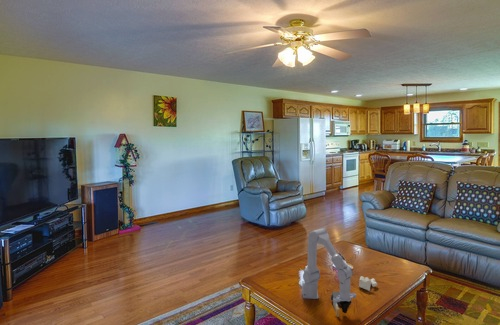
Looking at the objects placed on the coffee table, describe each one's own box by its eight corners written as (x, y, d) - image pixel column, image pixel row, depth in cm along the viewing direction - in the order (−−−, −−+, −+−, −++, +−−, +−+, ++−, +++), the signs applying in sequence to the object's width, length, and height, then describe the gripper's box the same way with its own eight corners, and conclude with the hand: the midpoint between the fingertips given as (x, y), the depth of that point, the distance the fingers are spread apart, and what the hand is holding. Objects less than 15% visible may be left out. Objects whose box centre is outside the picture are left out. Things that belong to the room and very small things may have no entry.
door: (331, 304, 176) (332, 297, 176) (334, 305, 176) (334, 297, 176) (336, 317, 165) (336, 308, 164) (339, 317, 164) (339, 309, 164)
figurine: (369, 281, 188) (381, 278, 197) (356, 275, 195) (367, 273, 205) (368, 292, 188) (379, 289, 197) (354, 287, 195) (366, 283, 204)
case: (331, 304, 177) (331, 295, 176) (330, 299, 183) (330, 290, 182) (347, 305, 176) (347, 296, 175) (345, 299, 182) (345, 291, 181)
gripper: (339, 295, 158) (338, 319, 160) (360, 289, 164) (359, 312, 165) (330, 289, 165) (330, 312, 166) (351, 283, 170) (350, 306, 172)
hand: (344, 312), depth 166 cm, fingers closed
